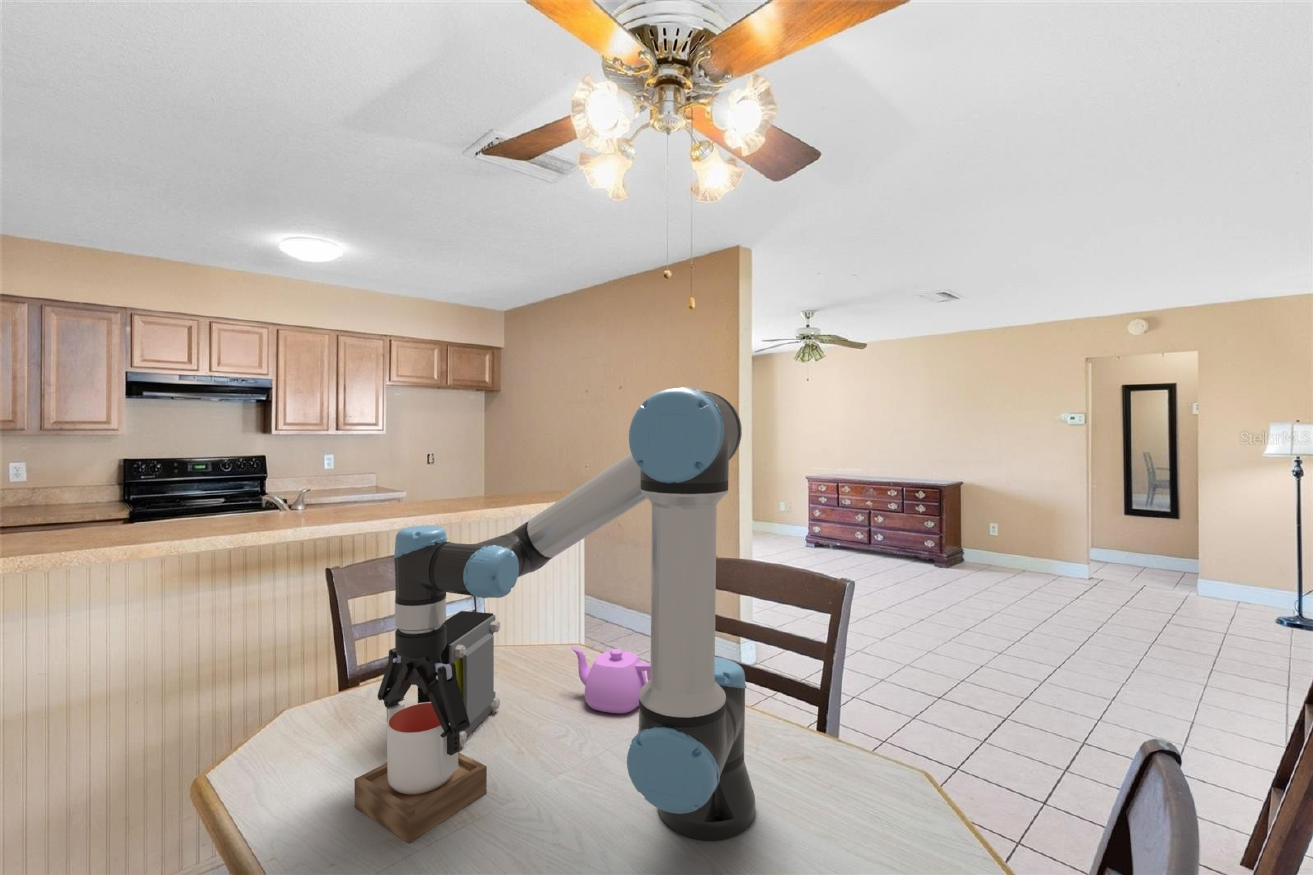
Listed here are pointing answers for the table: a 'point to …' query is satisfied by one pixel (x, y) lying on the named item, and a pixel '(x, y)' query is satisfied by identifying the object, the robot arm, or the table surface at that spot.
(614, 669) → the teapot
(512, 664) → the table surface
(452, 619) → the electrical component
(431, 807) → the wooden tray
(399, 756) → the cup
